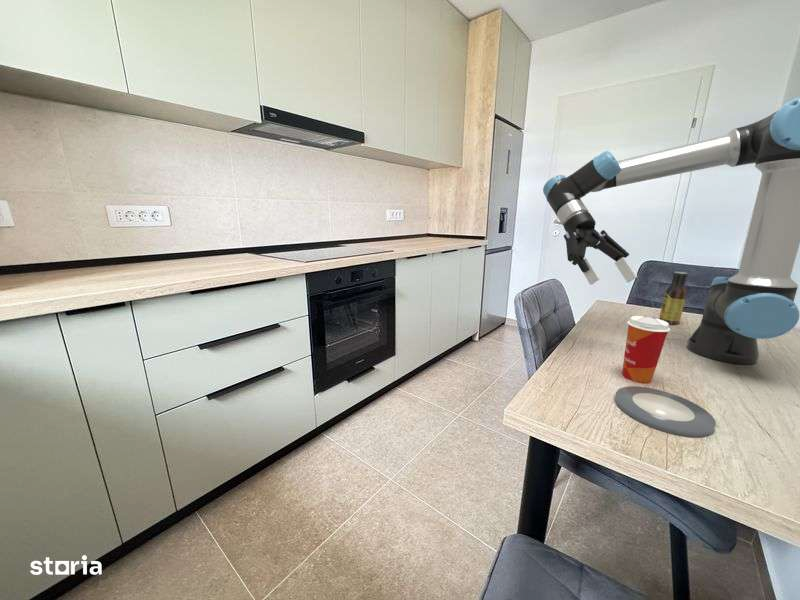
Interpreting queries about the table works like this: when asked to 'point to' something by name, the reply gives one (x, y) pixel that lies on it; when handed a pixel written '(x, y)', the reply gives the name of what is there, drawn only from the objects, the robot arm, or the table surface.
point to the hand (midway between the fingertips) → (614, 280)
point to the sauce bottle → (674, 299)
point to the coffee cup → (643, 347)
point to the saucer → (665, 411)
